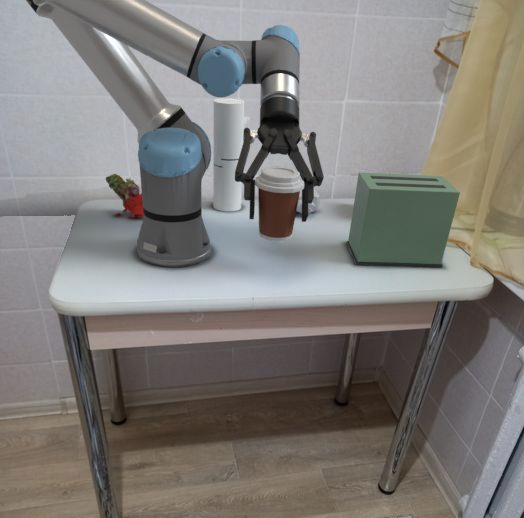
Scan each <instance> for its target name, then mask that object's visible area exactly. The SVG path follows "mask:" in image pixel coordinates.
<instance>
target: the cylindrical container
mask: <svg viewBox="0 0 524 518" xmlns="http://www.w3.org/2000/svg"><path fill="white" fill-rule="evenodd" d="M245 104H246V103H245V100H243V99H239V98H230V97H229V98H227V97H222V98H221V97H219V98H215V99H213V197H212V198H213V200H212V201H213V203H212V204H213V209H215V210H217V211H220V212H236V211H239V210H241V209H242V195H243V193H242V192H243V191H242V190H243V183H242V182H236V181H235V170H236V167H237V163H238V160H239V156H240V153H241V149H242V146H243V142H244V141H243V133H244V129H245Z"/></svg>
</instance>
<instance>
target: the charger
mask: <svg viewBox="0 0 524 518" xmlns="http://www.w3.org/2000/svg"><path fill="white" fill-rule="evenodd" d="M320 201H321V195H320V194H319V193H318V192H317V191H316V190H315V189H314V199H313V201H312V204H308V214H312V213H315V212H317V211H318V210H319V208H320ZM296 213H300V214H302V190H301V191H300V194H299V200H298V205H297V210H296Z"/></svg>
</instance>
